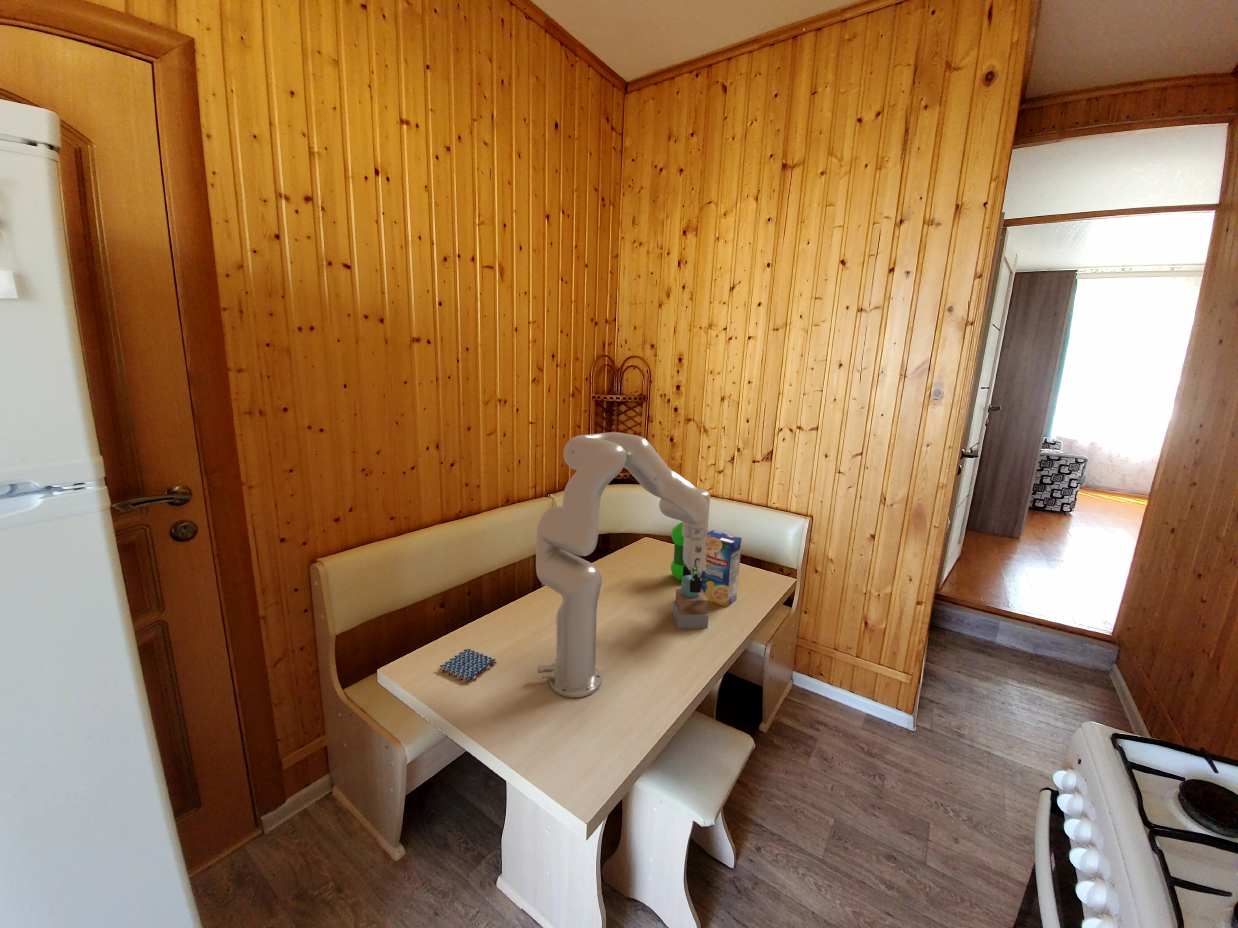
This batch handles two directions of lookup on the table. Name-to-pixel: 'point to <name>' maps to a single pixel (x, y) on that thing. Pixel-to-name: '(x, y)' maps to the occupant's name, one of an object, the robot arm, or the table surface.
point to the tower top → (692, 603)
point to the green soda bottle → (678, 552)
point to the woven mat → (468, 665)
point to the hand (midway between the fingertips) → (691, 584)
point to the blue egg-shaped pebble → (687, 587)
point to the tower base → (689, 619)
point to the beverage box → (721, 568)
